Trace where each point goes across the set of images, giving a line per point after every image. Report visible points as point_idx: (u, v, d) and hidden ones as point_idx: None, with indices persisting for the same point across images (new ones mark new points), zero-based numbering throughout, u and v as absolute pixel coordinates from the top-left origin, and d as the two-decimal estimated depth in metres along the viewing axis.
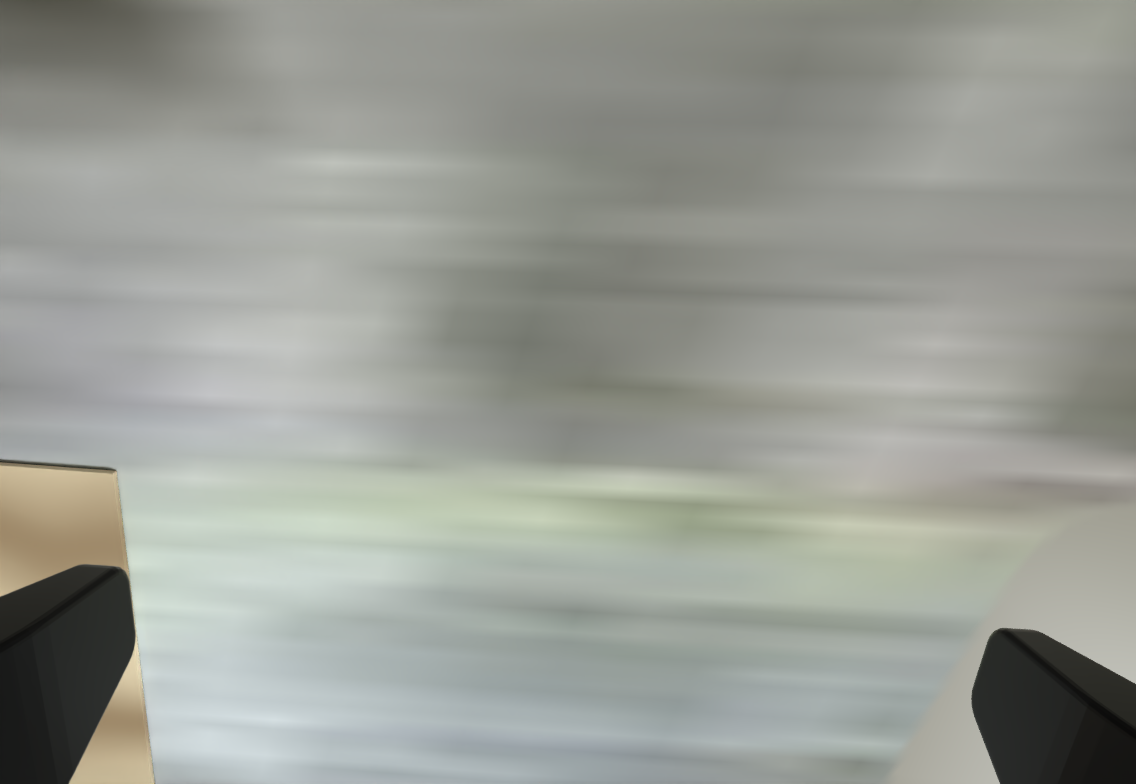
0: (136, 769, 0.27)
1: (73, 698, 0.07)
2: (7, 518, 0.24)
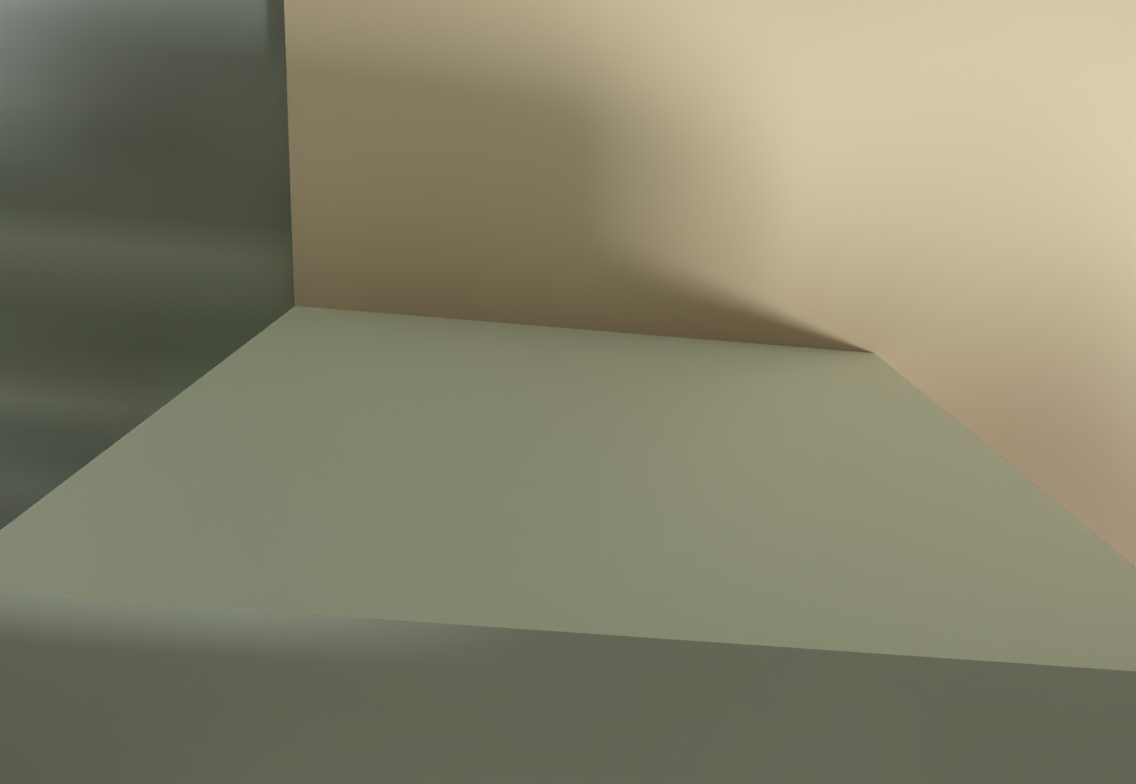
0: None
1: None
2: None
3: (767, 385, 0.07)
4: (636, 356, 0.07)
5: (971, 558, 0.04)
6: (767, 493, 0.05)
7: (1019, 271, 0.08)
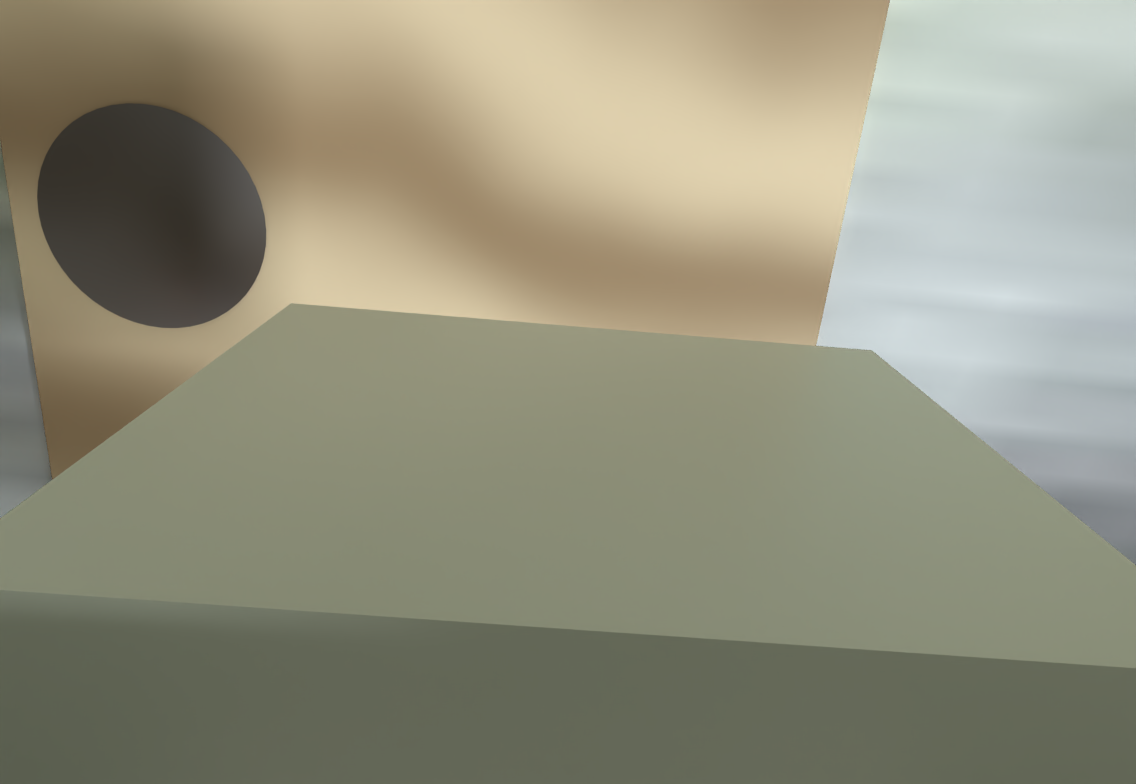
0: None
1: None
2: None
3: (764, 382, 0.07)
4: (633, 354, 0.07)
5: (968, 554, 0.04)
6: (763, 490, 0.05)
7: (353, 42, 0.16)
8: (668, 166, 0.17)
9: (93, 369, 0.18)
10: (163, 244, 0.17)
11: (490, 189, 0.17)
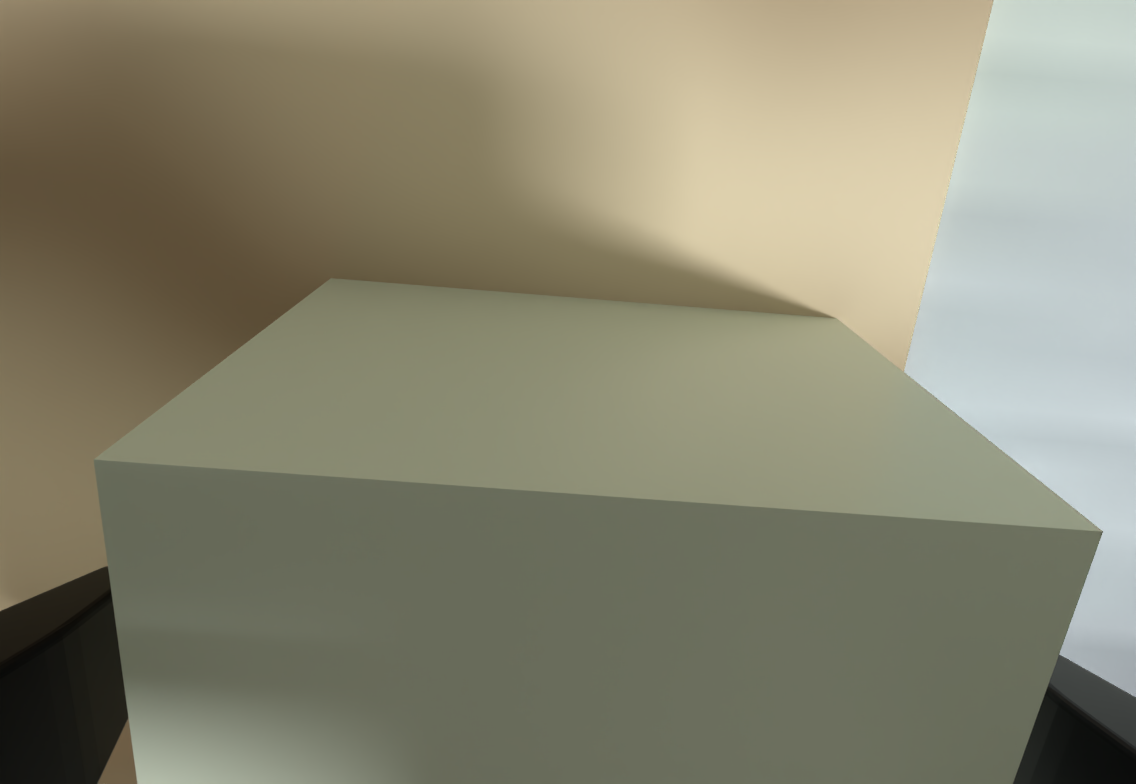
0: None
1: (102, 700, 0.07)
2: None
3: (740, 341, 0.08)
4: (628, 319, 0.09)
5: (888, 456, 0.06)
6: (731, 414, 0.06)
7: None
8: (590, 198, 0.09)
9: None
10: None
11: (257, 243, 0.09)
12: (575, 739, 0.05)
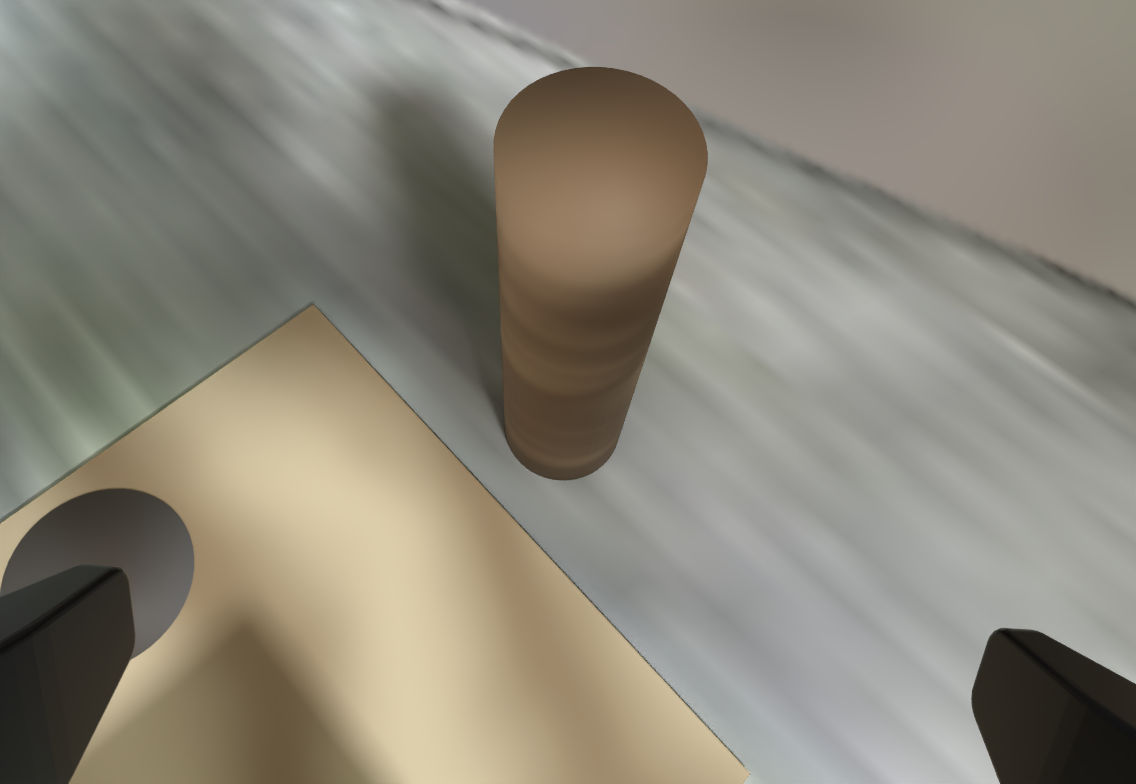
0: None
1: (73, 698, 0.07)
2: (607, 722, 0.20)
3: None
4: None
5: None
6: None
7: (323, 594, 0.21)
8: None
9: None
10: None
11: (307, 758, 0.19)
12: None
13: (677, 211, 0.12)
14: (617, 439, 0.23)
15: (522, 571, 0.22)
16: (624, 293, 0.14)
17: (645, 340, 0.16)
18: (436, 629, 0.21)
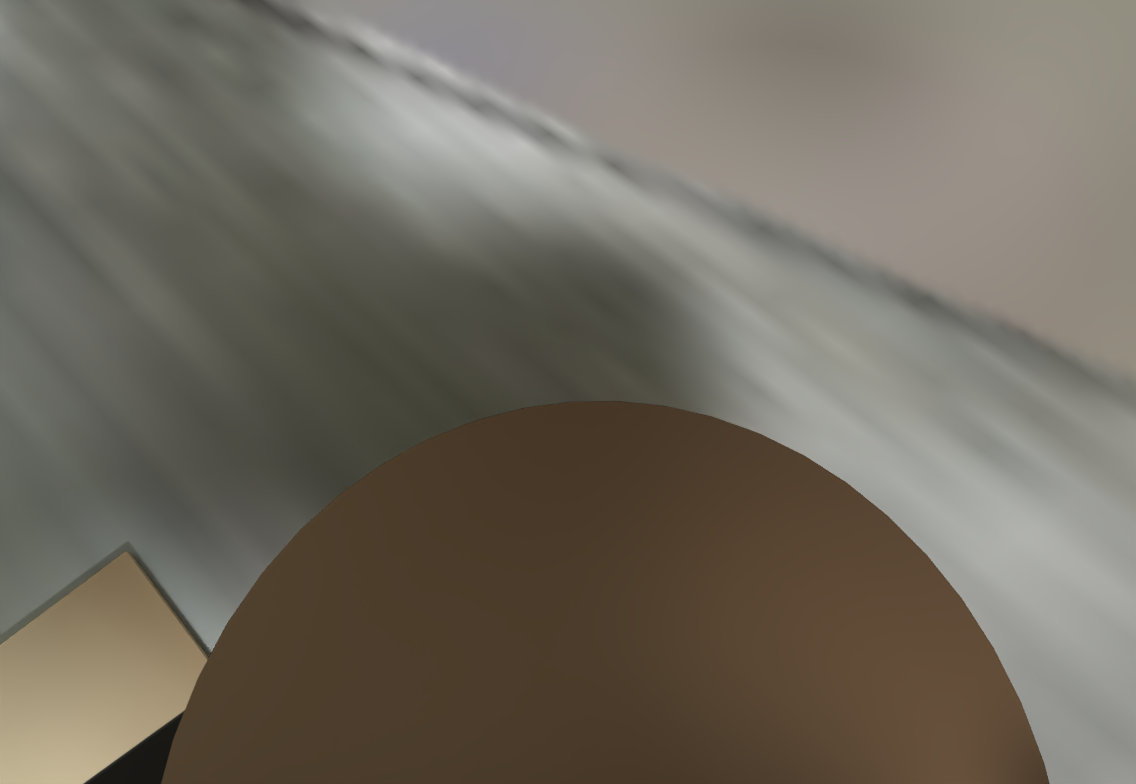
0: None
1: None
2: None
3: None
4: None
5: None
6: None
7: None
8: None
9: None
10: None
11: None
12: None
13: None
14: None
15: None
16: None
17: None
18: None
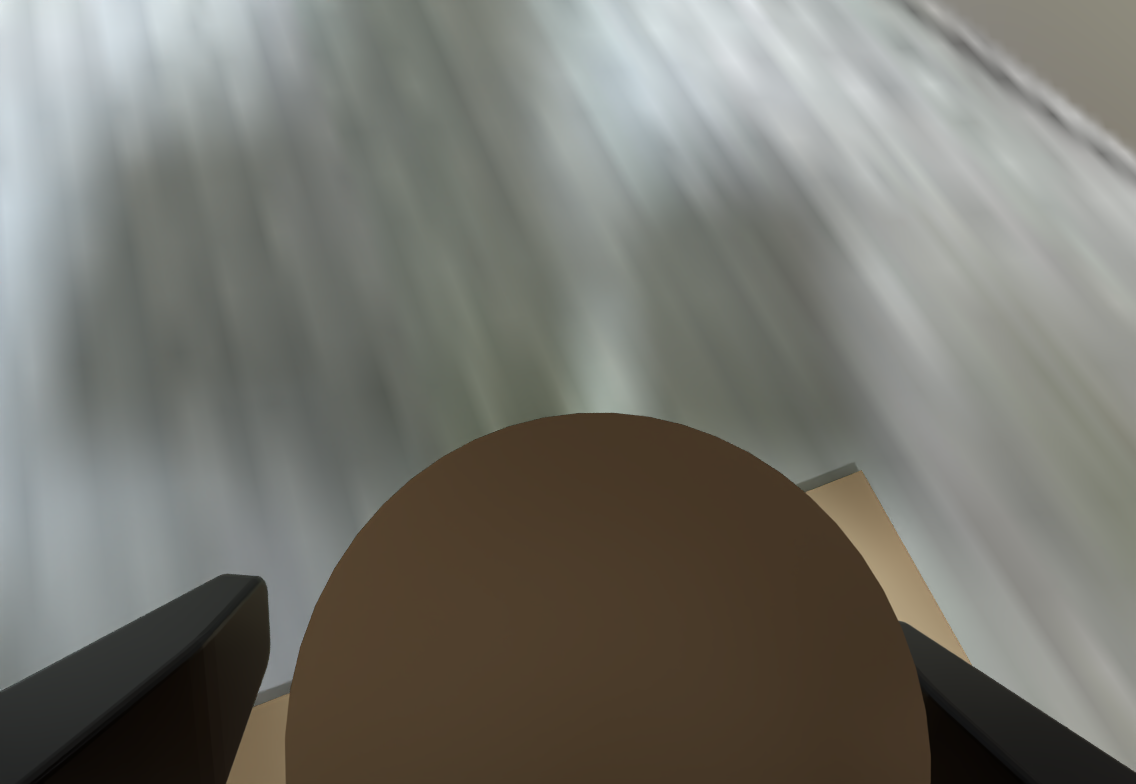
0: None
1: (228, 708, 0.07)
2: None
3: None
4: None
5: None
6: None
7: None
8: None
9: None
10: None
11: None
12: None
13: None
14: None
15: None
16: None
17: None
18: None
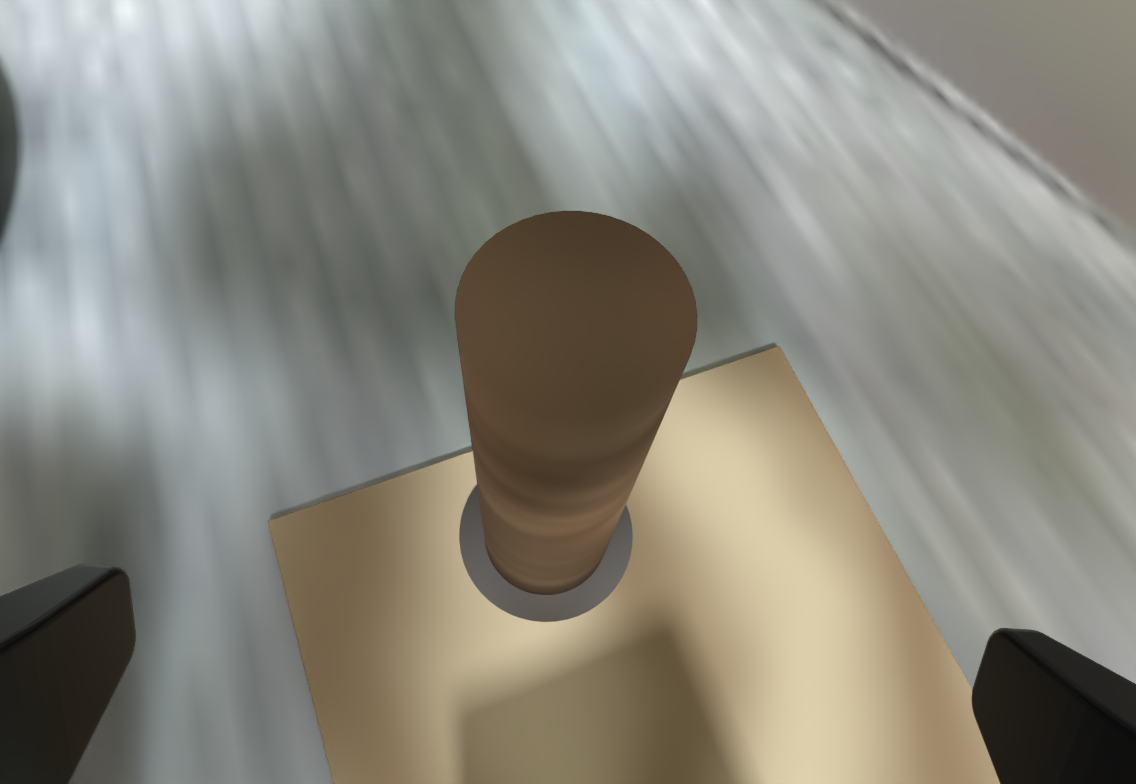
0: None
1: (73, 698, 0.07)
2: None
3: None
4: None
5: None
6: None
7: (742, 628, 0.21)
8: None
9: (403, 521, 0.22)
10: None
11: (701, 781, 0.20)
12: None
13: (662, 388, 0.11)
14: (604, 552, 0.21)
15: (937, 682, 0.21)
16: (605, 461, 0.12)
17: (631, 484, 0.15)
18: (843, 706, 0.21)
